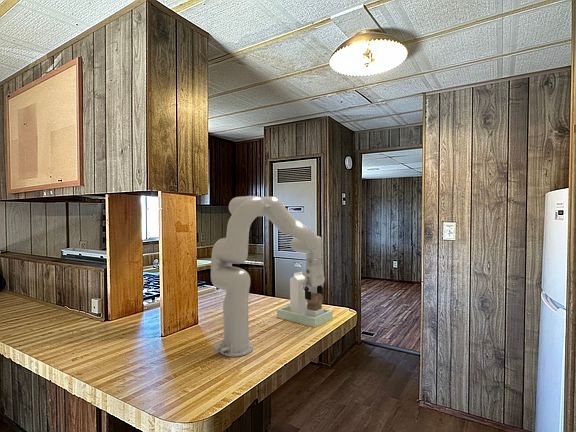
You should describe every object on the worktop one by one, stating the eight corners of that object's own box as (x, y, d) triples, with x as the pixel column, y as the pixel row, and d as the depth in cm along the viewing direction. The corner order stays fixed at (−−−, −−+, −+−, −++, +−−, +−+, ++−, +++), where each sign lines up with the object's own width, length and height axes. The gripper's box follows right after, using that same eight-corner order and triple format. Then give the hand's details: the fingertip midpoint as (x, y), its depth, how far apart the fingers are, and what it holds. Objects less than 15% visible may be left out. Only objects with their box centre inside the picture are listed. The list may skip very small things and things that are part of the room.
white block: (315, 324, 155) (315, 311, 155) (305, 321, 159) (305, 309, 159) (324, 320, 160) (324, 308, 160) (313, 318, 164) (313, 306, 164)
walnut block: (316, 311, 156) (315, 296, 156) (307, 309, 159) (307, 294, 159) (321, 308, 160) (321, 293, 160) (313, 306, 163) (313, 292, 163)
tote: (314, 327, 151) (314, 318, 151) (277, 317, 166) (276, 309, 166) (332, 318, 162) (332, 310, 162) (295, 310, 177) (295, 302, 177)
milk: (307, 315, 168) (306, 272, 167) (298, 318, 163) (298, 273, 163) (298, 313, 172) (298, 270, 172) (290, 315, 168) (289, 272, 167)
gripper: (309, 264, 150) (309, 302, 150) (330, 260, 163) (330, 295, 163) (296, 263, 155) (296, 299, 155) (317, 259, 168) (317, 292, 168)
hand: (314, 297), depth 159 cm, fingers open, 9 cm apart
